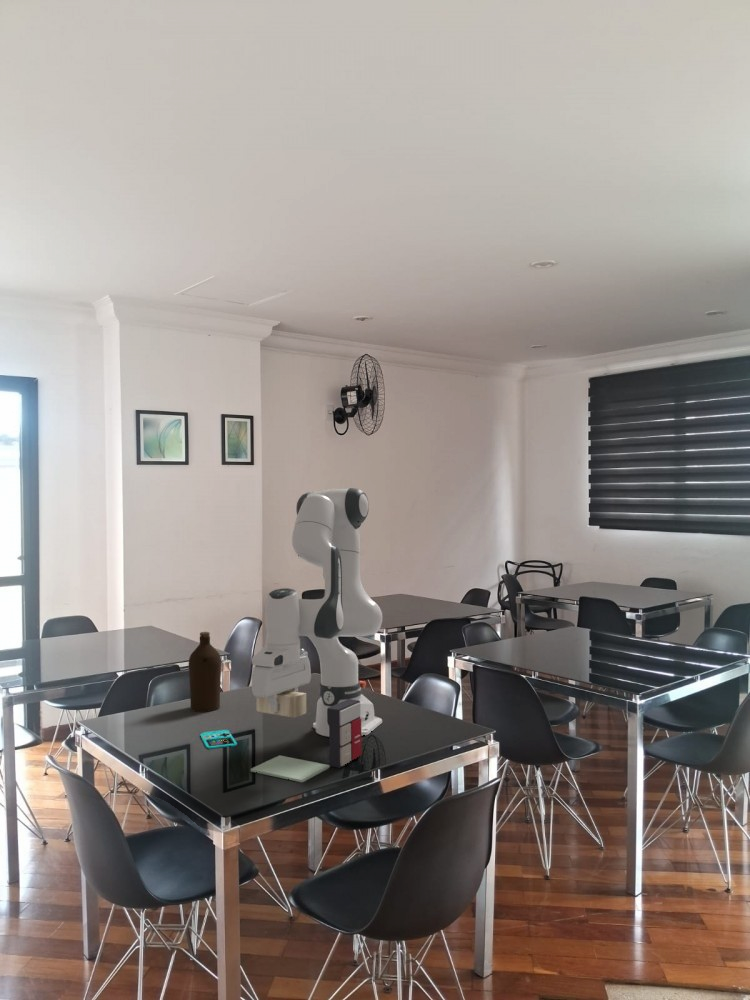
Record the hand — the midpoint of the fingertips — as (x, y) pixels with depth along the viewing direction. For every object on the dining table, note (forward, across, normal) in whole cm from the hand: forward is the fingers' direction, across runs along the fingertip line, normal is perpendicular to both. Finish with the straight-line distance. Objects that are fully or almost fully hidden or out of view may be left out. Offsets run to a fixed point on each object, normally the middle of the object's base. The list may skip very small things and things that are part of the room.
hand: (283, 708), depth 198 cm
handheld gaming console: (+16, -11, -32) cm, 38 cm away
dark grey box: (+16, -14, +10) cm, 23 cm away
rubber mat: (+16, -1, +1) cm, 16 cm away
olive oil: (+15, -35, -59) cm, 70 cm away
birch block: (-2, 0, -6) cm, 7 cm away
